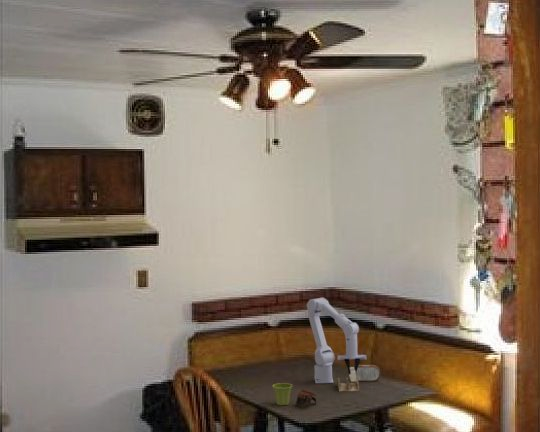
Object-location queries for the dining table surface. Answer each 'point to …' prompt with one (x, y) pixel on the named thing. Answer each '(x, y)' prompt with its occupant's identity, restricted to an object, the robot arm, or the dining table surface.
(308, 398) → the pottery mug
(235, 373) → the dining table surface
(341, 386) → the rack
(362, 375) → the tin
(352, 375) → the tile
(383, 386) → the dining table surface
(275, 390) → the plant pot
